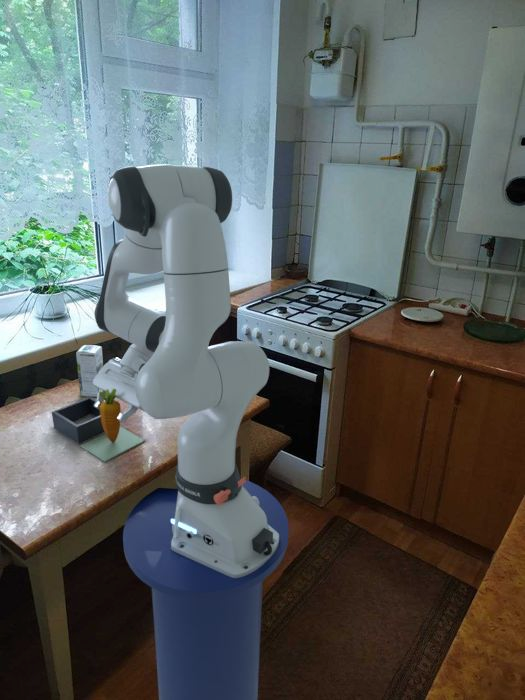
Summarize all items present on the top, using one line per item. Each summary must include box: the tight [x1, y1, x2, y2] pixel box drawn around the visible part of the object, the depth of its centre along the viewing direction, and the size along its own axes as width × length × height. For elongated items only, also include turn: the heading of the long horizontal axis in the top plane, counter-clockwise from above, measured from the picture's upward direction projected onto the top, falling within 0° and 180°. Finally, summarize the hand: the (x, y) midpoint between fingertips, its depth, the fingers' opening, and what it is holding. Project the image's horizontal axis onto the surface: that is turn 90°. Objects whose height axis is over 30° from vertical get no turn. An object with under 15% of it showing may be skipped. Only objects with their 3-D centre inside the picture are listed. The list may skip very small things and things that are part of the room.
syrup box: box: [75, 344, 104, 398], centre depth 148 cm, size 6×6×14 cm
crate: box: [51, 396, 105, 445], centre depth 131 cm, size 12×12×5 cm
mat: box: [80, 426, 146, 463], centre depth 125 cm, size 10×12×1 cm
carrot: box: [99, 388, 122, 443], centre depth 122 cm, size 5×5×15 cm
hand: (108, 414), depth 121 cm, fingers open, 8 cm apart
